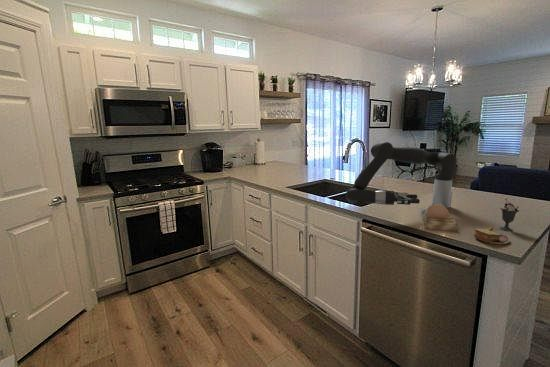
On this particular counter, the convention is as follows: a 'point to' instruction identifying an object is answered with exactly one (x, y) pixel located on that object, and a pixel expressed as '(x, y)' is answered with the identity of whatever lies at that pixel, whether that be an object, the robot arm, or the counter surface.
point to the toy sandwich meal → (491, 236)
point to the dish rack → (440, 223)
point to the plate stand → (422, 211)
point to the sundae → (508, 215)
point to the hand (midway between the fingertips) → (418, 198)
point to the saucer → (437, 212)
